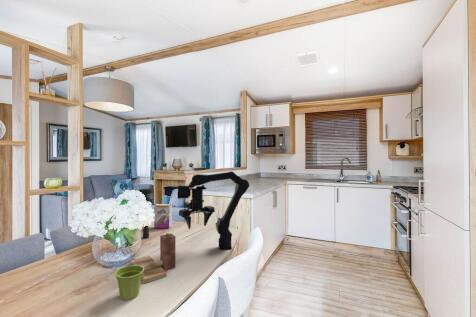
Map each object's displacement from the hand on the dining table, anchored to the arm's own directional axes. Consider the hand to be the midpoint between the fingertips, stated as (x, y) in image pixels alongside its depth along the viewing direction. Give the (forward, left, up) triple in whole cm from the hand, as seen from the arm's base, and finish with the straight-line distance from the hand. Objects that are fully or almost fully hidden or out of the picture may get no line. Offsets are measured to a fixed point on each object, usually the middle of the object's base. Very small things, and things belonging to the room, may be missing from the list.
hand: (197, 227), depth 126 cm
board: (+20, +21, -12) cm, 31 cm away
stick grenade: (+33, -24, -12) cm, 43 cm away
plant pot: (+21, +40, -12) cm, 47 cm away
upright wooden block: (+16, +21, -12) cm, 29 cm away
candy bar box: (+27, -45, -12) cm, 54 cm away
